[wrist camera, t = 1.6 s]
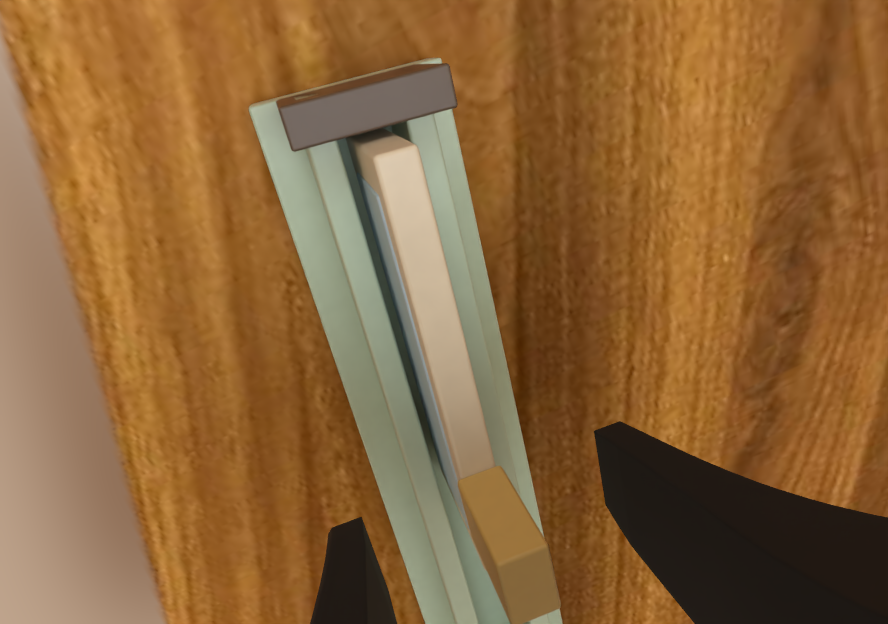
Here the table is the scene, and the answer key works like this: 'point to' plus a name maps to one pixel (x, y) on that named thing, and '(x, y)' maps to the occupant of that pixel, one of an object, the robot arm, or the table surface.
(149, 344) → the table surface
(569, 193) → the table surface
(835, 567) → the robot arm
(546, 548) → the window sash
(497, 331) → the green sliding track
